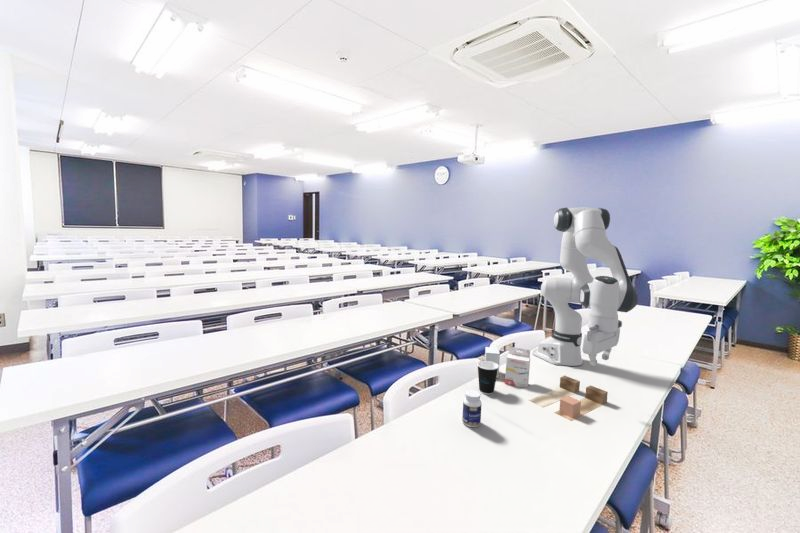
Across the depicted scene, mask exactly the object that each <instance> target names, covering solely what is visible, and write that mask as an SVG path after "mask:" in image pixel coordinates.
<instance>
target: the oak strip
mask: <svg viewBox="0 0 800 533" xmlns="http://www.w3.org/2000/svg"><path fill="white" fill-rule="evenodd" d="M584 395H585V397H584V398H582V399H580V400H579V401H581V407H580V414H579V415H578V416H576V417H574V418H571V417H569V416H567V415H564V414H562V413H560V412H559V410H560V409H559V410H556V411H555V412H554V413H555V414H557V415H558V416H560V417H562V418H564V419H567V420H568V421H570V422H572V421H574V420H576V419H578V418H580V417H582V416H584V415H586V414H588V413H589V412H591V411H593V410H595V409H598V408H600V407H601V406H604V405H605V404H607V403H608V401H607V400H608V391H606V390H604V389H600V388H599V387H596V386H593V385H590V384H589V385H588V386H586V388H585V394H584Z"/></svg>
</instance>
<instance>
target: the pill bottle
mask: <svg viewBox="0 0 800 533" xmlns="http://www.w3.org/2000/svg"><path fill="white" fill-rule="evenodd" d="M464 397H465V398H464V399H463V403H462V417H461V419H462V420H461V421H462V424H463V425H464V426H466V427H470V428H478V427H479V426H480V425H481V423H482V422H481V419H482V400H480V399H481V392H480V391H476V390H472V389H470V390H466V391H465V394H464Z"/></svg>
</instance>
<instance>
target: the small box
mask: <svg viewBox="0 0 800 533" xmlns="http://www.w3.org/2000/svg"><path fill="white" fill-rule="evenodd" d="M484 349H485V350H484V351H485V352H484V361H491V362H494V363H496V364H498V365H499V366H500V363H501V362H500V360H501V358H500V357H501V353H500V349H499V347H493V346H485V348H484ZM499 378H500V367H499V368H498V370H497V376H496V379H499Z"/></svg>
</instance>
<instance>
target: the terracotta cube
mask: <svg viewBox="0 0 800 533" xmlns="http://www.w3.org/2000/svg"><path fill="white" fill-rule="evenodd" d="M580 407H581V401H580V400H579V399H577V398H575V397H572V396H566V397H564V398H562V399H560V400H559V412H560V413H562V414H564V415H567V416H569V417H571V418H574V417H576V416H578V415H579V414H580Z"/></svg>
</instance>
